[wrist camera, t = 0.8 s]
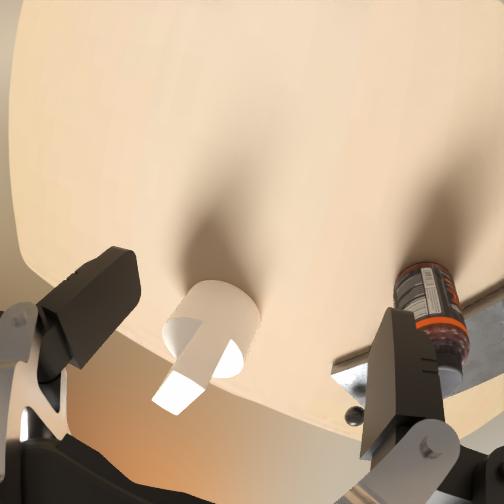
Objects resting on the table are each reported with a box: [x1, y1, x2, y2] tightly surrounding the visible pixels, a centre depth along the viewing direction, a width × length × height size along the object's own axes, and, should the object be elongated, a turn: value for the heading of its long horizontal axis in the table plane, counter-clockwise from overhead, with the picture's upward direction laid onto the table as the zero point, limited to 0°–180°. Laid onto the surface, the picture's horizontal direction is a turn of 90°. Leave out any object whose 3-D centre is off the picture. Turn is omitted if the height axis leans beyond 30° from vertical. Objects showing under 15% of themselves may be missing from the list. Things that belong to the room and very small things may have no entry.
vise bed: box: [331, 287, 504, 408], centre depth 27 cm, size 24×12×6 cm, turn 134°
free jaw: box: [345, 406, 365, 426], centre depth 31 cm, size 9×9×5 cm
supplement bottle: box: [393, 263, 470, 398], centre depth 22 cm, size 6×6×11 cm
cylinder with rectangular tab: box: [152, 280, 261, 415], centre depth 31 cm, size 9×9×12 cm
